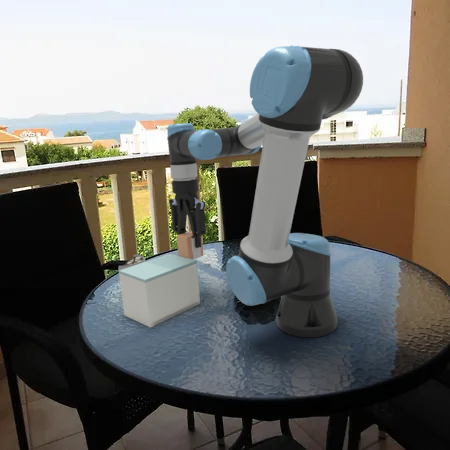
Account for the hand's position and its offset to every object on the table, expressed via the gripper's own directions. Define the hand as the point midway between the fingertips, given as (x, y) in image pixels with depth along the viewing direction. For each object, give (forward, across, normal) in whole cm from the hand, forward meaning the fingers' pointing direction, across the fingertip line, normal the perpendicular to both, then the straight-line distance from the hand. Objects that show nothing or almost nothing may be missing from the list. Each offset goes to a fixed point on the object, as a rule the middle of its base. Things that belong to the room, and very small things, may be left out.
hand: (191, 256), depth 123 cm
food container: (+13, +19, +7) cm, 24 cm away
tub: (+13, 0, +12) cm, 18 cm away
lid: (0, 0, +9) cm, 9 cm away
